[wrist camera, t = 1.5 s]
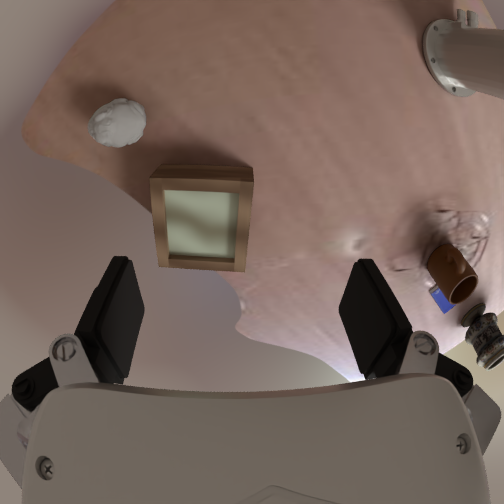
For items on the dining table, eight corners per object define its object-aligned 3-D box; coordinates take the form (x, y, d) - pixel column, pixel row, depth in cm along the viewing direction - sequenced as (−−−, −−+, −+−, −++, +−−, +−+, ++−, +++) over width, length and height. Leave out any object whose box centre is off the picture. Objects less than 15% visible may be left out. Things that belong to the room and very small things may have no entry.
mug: (419, 238, 41) (446, 272, 33) (451, 218, 39) (480, 249, 31) (428, 278, 47) (448, 311, 39) (455, 261, 45) (478, 291, 37)
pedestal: (161, 164, 33) (149, 178, 29) (252, 167, 34) (253, 182, 30) (166, 245, 41) (158, 266, 36) (244, 249, 41) (244, 272, 37)
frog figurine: (108, 97, 27) (81, 104, 21) (158, 95, 27) (138, 100, 22) (108, 140, 30) (82, 155, 25) (155, 140, 31) (136, 155, 25)
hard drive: (430, 294, 49) (444, 314, 54) (458, 271, 45) (468, 294, 50) (427, 289, 50) (441, 310, 55) (454, 266, 46) (465, 290, 51)
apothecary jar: (452, 324, 59) (477, 374, 44) (482, 295, 53) (512, 344, 38) (464, 331, 62) (487, 376, 48) (491, 306, 56) (516, 349, 42)
